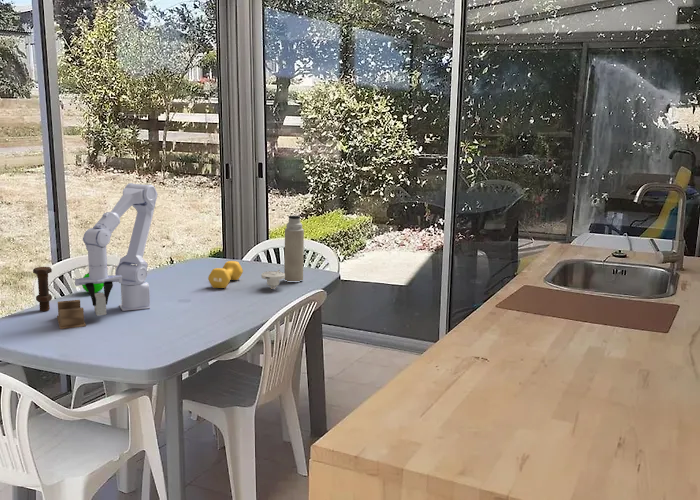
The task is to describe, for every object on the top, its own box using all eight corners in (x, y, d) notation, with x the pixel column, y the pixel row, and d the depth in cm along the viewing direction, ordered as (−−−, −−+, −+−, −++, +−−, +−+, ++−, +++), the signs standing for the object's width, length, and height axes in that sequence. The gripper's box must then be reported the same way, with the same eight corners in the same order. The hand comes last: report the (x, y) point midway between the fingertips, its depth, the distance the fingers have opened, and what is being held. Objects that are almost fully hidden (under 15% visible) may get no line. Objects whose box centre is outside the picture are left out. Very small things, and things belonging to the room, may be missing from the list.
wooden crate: (81, 315, 222) (80, 299, 221) (85, 326, 210) (85, 309, 209) (57, 317, 218) (56, 301, 217) (60, 329, 206) (59, 311, 205)
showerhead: (289, 270, 266) (278, 275, 256) (289, 287, 267) (277, 293, 258) (269, 267, 269) (257, 272, 260) (269, 285, 270) (256, 290, 261)
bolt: (45, 313, 222) (43, 270, 220) (32, 312, 223) (29, 269, 221) (56, 308, 228) (54, 266, 225) (43, 307, 229) (41, 265, 226)
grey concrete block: (103, 309, 221) (103, 292, 220) (106, 314, 216) (105, 297, 215) (94, 310, 220) (93, 293, 219) (96, 315, 215) (95, 298, 213)
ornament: (105, 290, 255) (104, 264, 253) (104, 295, 247) (103, 269, 245) (82, 291, 252) (81, 265, 251) (81, 296, 245) (79, 270, 243)
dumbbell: (227, 290, 260) (227, 270, 259) (206, 288, 262) (206, 268, 260) (244, 279, 279) (244, 261, 277) (224, 278, 280) (224, 259, 279)
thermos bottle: (291, 277, 284) (292, 213, 279) (306, 280, 280) (307, 215, 275) (280, 281, 278) (281, 215, 272) (295, 284, 273) (296, 217, 268)
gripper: (75, 269, 208) (77, 310, 211) (122, 265, 215) (124, 305, 217) (73, 264, 214) (75, 304, 217) (119, 261, 221) (121, 299, 223)
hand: (100, 304), depth 217 cm, fingers closed on grey concrete block, 3 cm apart
